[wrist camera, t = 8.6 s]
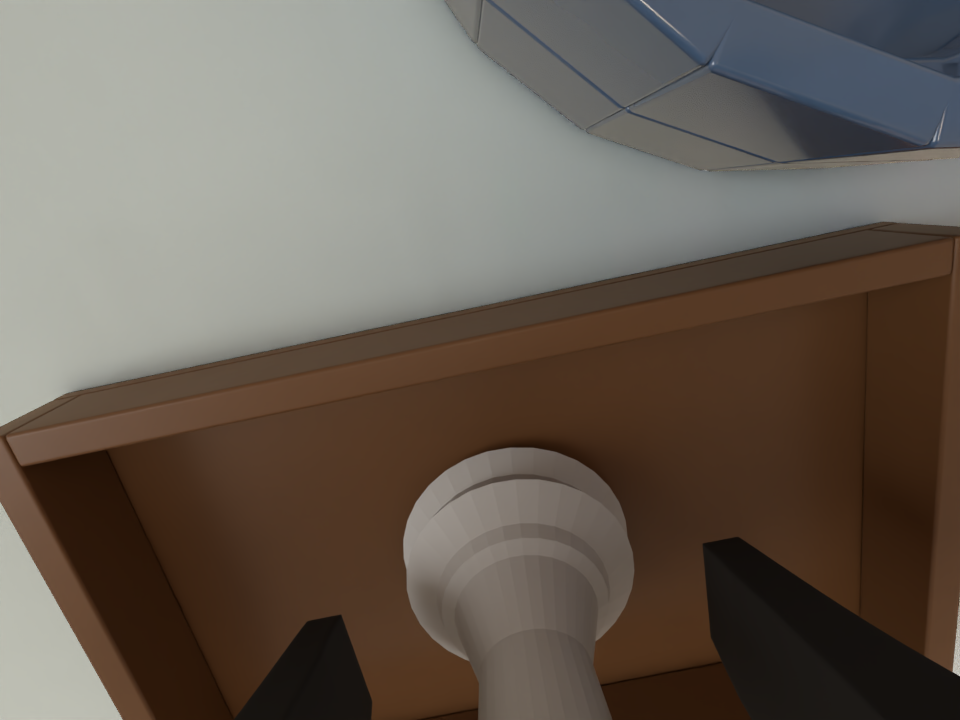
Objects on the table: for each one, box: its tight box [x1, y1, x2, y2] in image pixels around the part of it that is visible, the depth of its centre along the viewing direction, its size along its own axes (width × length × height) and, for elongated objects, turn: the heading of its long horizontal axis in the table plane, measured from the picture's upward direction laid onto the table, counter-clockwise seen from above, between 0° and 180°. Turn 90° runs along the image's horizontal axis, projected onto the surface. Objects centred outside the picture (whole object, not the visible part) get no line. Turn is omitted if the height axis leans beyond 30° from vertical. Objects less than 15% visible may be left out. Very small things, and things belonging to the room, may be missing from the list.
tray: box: [0, 222, 960, 720], centre depth 11 cm, size 16×10×2 cm, turn 102°
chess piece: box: [403, 448, 634, 720], centre depth 7 cm, size 5×5×8 cm
